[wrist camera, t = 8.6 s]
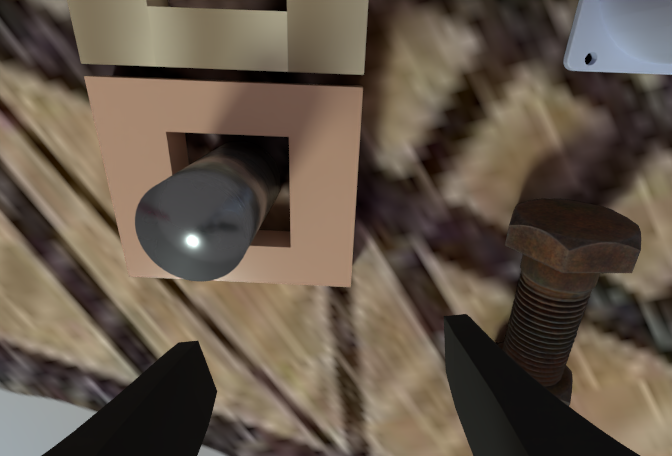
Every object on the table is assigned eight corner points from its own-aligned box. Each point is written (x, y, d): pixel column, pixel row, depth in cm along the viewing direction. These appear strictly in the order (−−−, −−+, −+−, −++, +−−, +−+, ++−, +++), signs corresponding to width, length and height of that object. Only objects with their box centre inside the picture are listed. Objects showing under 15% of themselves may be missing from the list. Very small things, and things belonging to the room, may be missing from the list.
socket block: (361, 85, 17) (363, 87, 15) (350, 268, 21) (350, 287, 19) (111, 75, 17) (84, 76, 16) (147, 258, 21) (129, 276, 20)
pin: (279, 142, 19) (243, 181, 12) (281, 215, 20) (250, 283, 14) (201, 139, 19) (124, 176, 12) (210, 212, 20) (145, 279, 14)
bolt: (481, 380, 27) (522, 189, 21) (558, 411, 25) (633, 206, 18) (461, 445, 23) (505, 228, 16) (553, 490, 20) (649, 257, 14)
